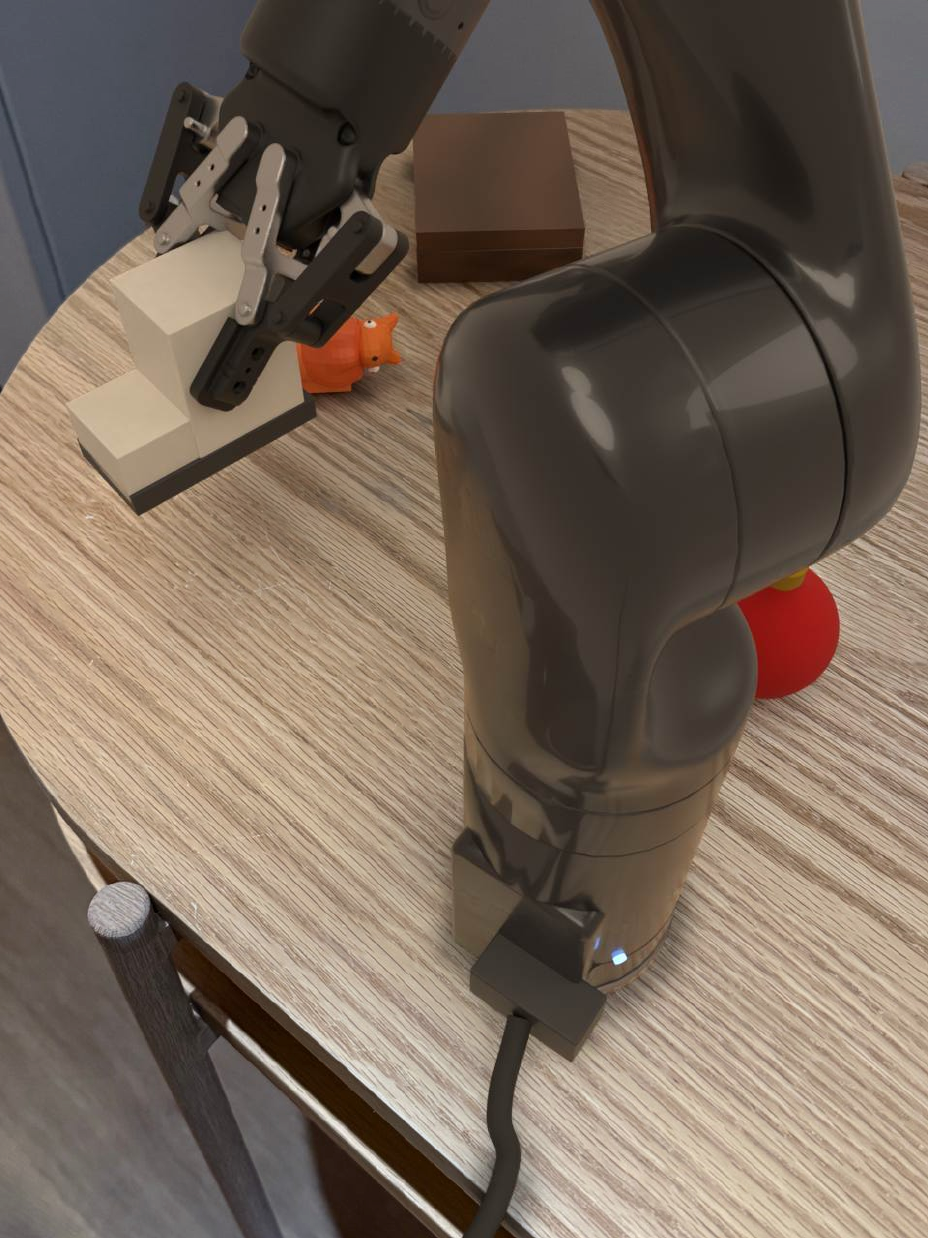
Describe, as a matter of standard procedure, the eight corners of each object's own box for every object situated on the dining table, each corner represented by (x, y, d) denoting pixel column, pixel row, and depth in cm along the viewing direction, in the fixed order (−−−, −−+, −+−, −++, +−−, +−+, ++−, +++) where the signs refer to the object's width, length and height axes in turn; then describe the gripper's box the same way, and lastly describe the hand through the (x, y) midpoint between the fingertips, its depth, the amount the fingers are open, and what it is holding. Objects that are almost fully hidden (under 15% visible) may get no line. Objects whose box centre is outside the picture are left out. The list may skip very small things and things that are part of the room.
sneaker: (259, 364, 56) (232, 219, 49) (317, 416, 53) (297, 272, 47) (83, 456, 52) (29, 313, 45) (138, 517, 50) (89, 375, 43)
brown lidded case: (560, 161, 86) (564, 110, 83) (580, 278, 78) (585, 227, 74) (413, 164, 86) (411, 114, 82) (417, 283, 77) (415, 232, 74)
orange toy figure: (189, 330, 66) (399, 321, 66) (204, 287, 72) (396, 278, 72) (202, 412, 68) (403, 402, 69) (216, 363, 75) (400, 355, 75)
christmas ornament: (723, 590, 62) (762, 460, 54) (843, 656, 59) (903, 530, 51) (653, 677, 58) (684, 552, 50) (777, 751, 56) (830, 632, 48)
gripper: (552, 110, 44) (330, 478, 49) (331, -22, 51) (155, 315, 56) (443, 12, 38) (201, 446, 43) (207, -123, 44) (21, 267, 49)
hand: (176, 370), depth 49 cm, fingers closed on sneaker, 4 cm apart
